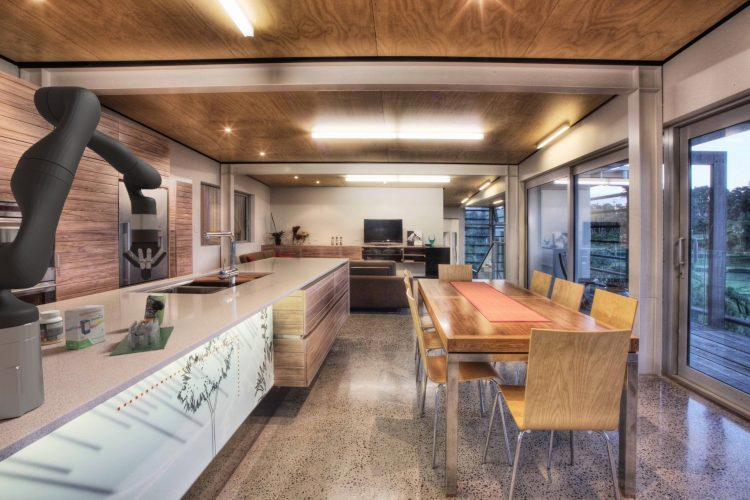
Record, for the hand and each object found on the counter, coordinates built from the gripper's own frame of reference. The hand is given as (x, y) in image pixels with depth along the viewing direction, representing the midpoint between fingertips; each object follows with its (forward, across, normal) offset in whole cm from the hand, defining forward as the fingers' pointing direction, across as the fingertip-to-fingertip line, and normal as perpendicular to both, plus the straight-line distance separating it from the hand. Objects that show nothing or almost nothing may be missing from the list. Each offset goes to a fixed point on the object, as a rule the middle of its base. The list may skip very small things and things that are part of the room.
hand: (146, 279), depth 113 cm
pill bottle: (+19, -27, +5) cm, 33 cm away
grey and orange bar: (+15, 0, -6) cm, 16 cm away
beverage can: (+19, 0, +13) cm, 23 cm away
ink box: (+19, -16, -3) cm, 25 cm away
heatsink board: (+19, 0, -6) cm, 20 cm away
